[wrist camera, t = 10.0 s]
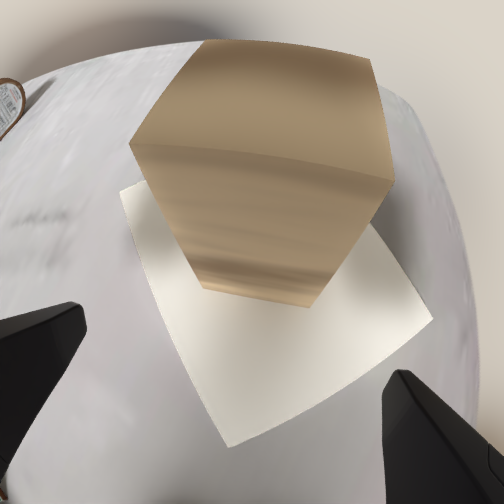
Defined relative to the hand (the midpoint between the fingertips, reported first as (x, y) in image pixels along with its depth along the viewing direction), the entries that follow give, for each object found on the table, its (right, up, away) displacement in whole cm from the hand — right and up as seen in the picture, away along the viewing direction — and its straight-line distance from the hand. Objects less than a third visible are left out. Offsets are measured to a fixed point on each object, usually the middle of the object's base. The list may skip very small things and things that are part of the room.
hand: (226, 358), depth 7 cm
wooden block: (+1, +3, +10) cm, 10 cm away
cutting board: (+1, +2, +11) cm, 11 cm away
